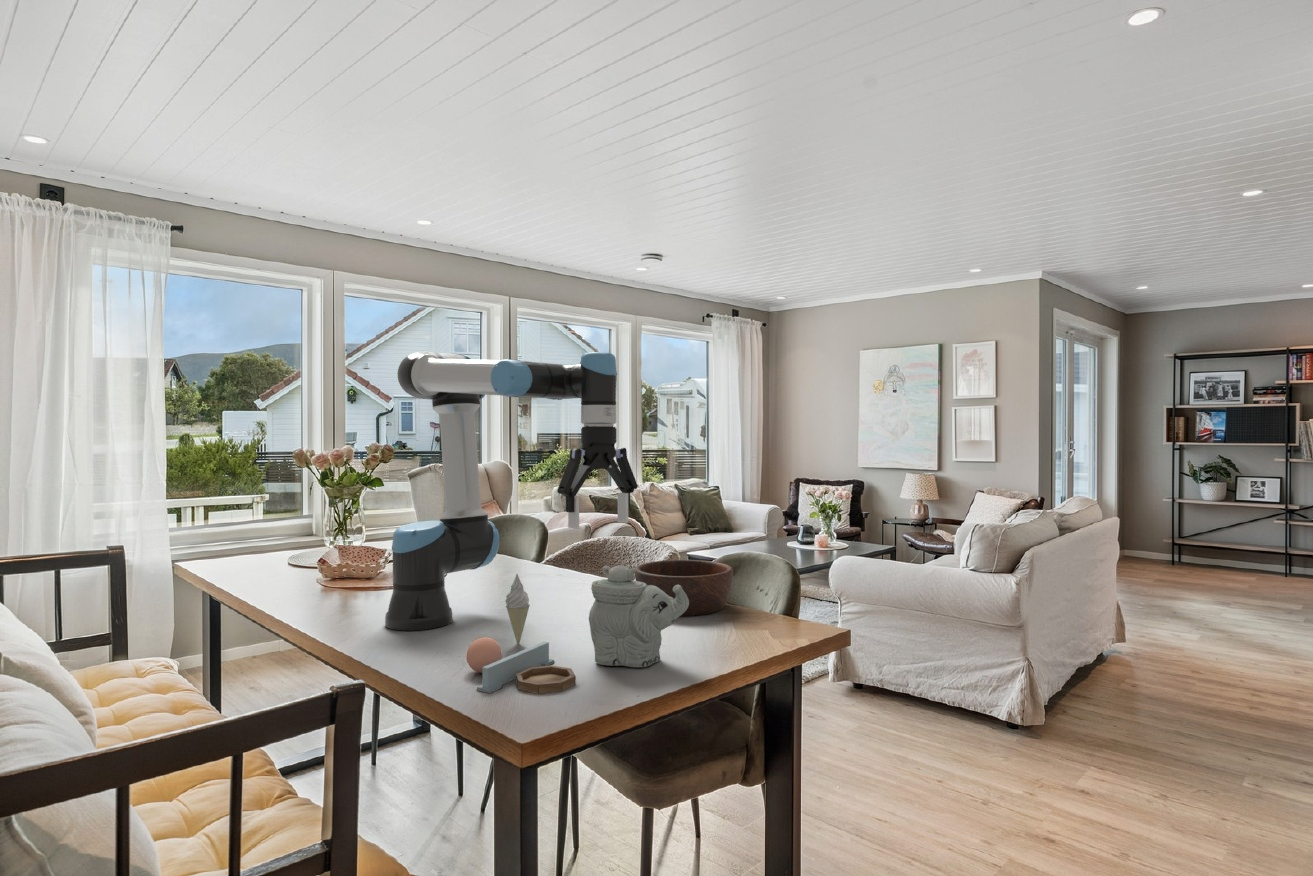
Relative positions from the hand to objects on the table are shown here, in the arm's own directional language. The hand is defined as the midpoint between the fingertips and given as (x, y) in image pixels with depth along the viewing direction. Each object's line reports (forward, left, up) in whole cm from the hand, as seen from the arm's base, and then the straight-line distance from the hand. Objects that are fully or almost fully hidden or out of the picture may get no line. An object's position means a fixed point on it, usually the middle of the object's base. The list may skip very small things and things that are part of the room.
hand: (599, 525), depth 162 cm
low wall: (-1, -26, -25) cm, 36 cm away
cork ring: (+6, -27, -25) cm, 37 cm away
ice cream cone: (-14, -9, -25) cm, 30 cm away
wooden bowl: (+3, +37, -25) cm, 45 cm away
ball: (-8, -27, -25) cm, 38 cm away
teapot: (+15, -9, -25) cm, 30 cm away
